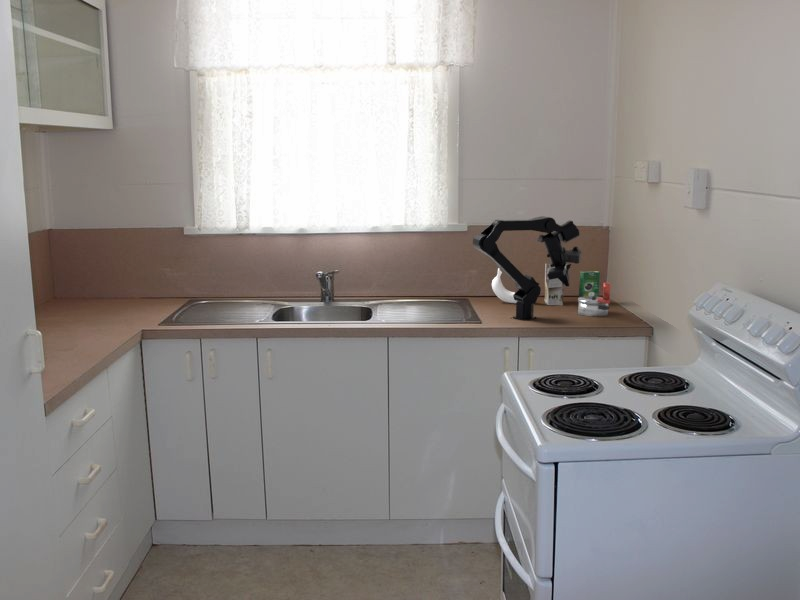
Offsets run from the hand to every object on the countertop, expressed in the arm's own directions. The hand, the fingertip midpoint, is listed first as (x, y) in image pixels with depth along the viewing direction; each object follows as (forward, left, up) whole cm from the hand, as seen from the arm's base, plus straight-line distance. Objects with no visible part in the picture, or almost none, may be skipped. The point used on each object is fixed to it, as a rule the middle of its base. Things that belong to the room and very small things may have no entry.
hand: (568, 285), depth 305 cm
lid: (+9, -6, -7) cm, 13 cm away
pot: (+10, -5, -11) cm, 16 cm away
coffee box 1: (+17, +18, -12) cm, 27 cm away
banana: (+5, +29, -12) cm, 32 cm away
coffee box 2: (+27, +8, -12) cm, 30 cm away
